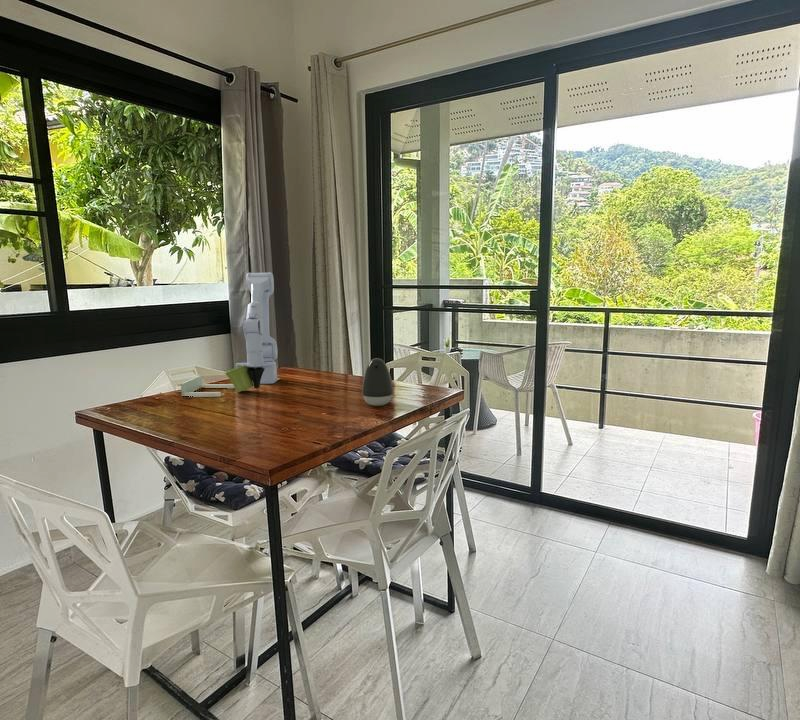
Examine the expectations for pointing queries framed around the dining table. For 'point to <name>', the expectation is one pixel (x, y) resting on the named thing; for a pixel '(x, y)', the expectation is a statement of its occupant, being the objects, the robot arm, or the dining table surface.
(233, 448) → the dining table surface
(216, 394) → the display bay
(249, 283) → the robot arm
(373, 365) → the dark grey egg shape
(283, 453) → the dining table surface
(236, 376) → the plant pot
